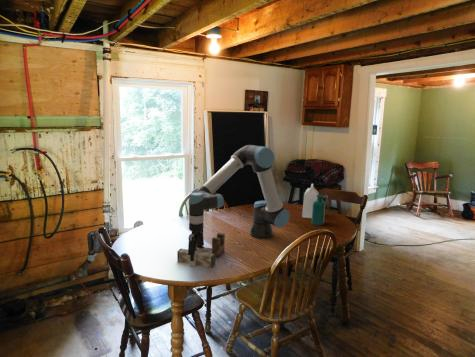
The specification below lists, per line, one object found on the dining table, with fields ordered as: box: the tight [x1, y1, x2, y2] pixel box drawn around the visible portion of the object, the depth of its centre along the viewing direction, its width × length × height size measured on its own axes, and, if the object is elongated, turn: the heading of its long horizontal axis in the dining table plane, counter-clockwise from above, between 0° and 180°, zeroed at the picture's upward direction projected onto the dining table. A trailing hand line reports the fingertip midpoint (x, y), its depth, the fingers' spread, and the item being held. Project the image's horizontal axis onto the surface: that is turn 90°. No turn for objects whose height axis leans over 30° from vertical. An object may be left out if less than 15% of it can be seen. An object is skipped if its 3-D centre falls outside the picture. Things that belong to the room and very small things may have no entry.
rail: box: [176, 248, 216, 269], centre depth 178 cm, size 20×4×6 cm, turn 73°
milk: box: [301, 183, 320, 219], centre depth 266 cm, size 12×12×26 cm
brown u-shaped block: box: [188, 232, 226, 259], centre depth 192 cm, size 18×10×11 cm, turn 73°
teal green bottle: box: [311, 194, 329, 226], centre depth 247 cm, size 10×8×22 cm
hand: (196, 262), depth 179 cm, fingers open, 8 cm apart
